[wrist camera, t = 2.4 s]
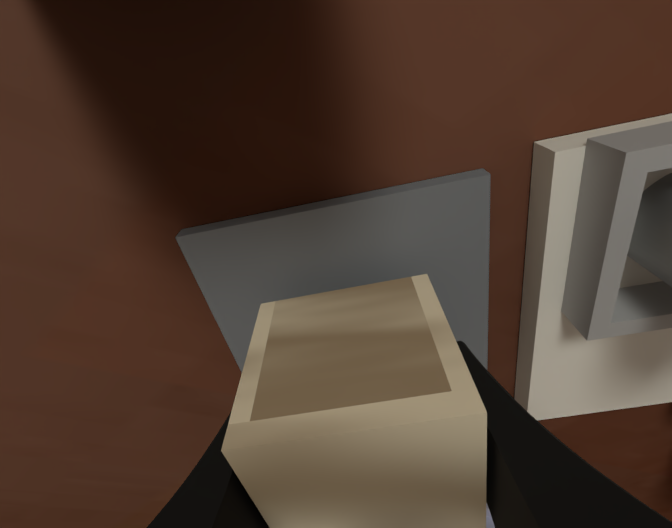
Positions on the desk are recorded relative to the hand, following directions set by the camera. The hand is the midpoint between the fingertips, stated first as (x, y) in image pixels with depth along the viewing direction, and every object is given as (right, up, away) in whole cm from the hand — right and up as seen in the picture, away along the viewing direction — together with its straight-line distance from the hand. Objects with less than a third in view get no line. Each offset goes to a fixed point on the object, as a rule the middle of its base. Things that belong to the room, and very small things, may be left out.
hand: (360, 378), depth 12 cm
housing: (0, +1, +1) cm, 1 cm away
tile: (0, +2, +3) cm, 3 cm away
